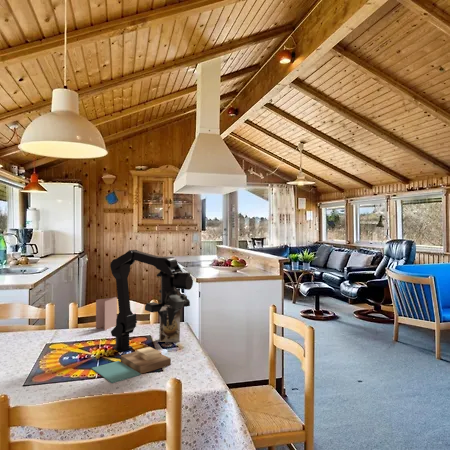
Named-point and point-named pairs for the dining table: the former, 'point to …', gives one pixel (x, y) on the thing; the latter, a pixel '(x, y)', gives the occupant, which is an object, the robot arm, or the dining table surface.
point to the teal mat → (115, 371)
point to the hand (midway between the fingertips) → (167, 325)
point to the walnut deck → (144, 362)
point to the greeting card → (106, 312)
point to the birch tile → (148, 353)
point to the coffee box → (170, 329)
